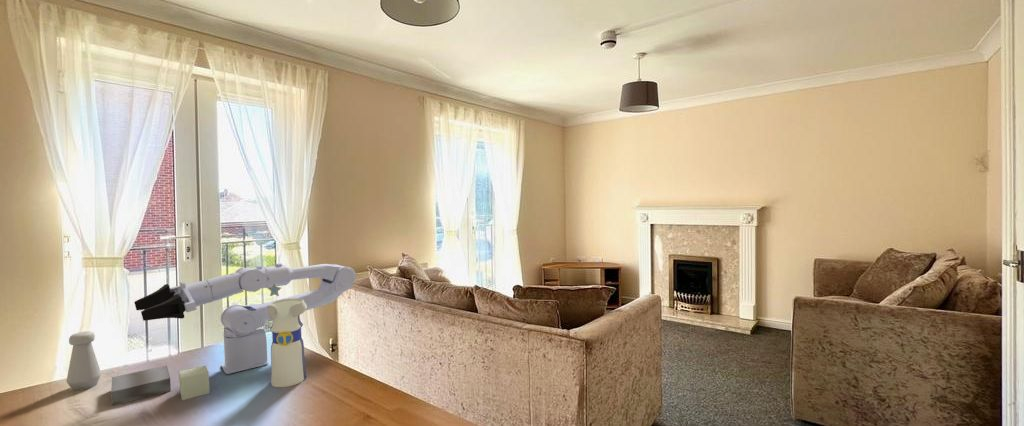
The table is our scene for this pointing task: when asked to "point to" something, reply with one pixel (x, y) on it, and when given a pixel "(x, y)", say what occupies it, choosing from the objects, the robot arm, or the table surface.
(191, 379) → the sage block
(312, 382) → the table surface
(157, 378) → the gray plinth
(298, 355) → the cream belted dress
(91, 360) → the salt shaker
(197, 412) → the table surface
